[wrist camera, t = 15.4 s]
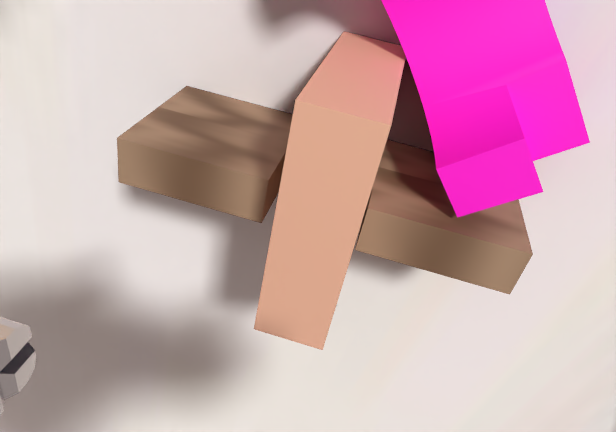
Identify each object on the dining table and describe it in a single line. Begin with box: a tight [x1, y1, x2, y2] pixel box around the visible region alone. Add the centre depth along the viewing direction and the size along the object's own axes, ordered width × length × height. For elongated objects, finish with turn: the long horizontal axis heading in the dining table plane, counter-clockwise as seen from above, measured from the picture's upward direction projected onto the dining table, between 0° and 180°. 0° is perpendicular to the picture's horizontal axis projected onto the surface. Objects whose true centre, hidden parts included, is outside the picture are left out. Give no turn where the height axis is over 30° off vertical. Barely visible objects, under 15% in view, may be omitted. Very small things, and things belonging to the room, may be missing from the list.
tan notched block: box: [254, 31, 406, 350], centre depth 25 cm, size 4×12×11 cm, turn 169°
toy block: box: [381, 0, 590, 217], centre depth 22 cm, size 15×6×8 cm, turn 28°
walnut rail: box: [117, 86, 533, 294], centre depth 27 cm, size 20×2×8 cm, turn 79°
